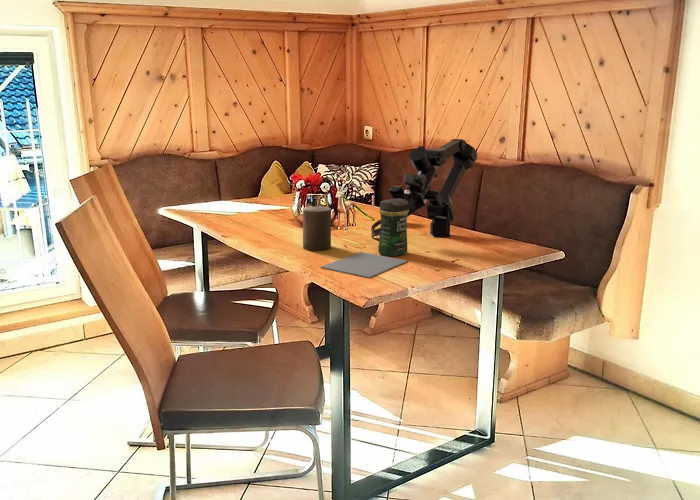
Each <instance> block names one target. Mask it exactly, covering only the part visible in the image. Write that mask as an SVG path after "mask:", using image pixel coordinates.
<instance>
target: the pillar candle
mask: <svg viewBox="0 0 700 500" xmlns="http://www.w3.org/2000/svg"><path fill="white" fill-rule="evenodd" d="M315 205H316V206H306V207H303V209H302V246H303V247H302V248H303V249H305V250H306V251H311V252H312V251H313V252H318V251H320V252H321V251H323V252H325V251H328V250H330V249H331V248H332V208H330V207H327V206H318V204H315Z"/></svg>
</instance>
